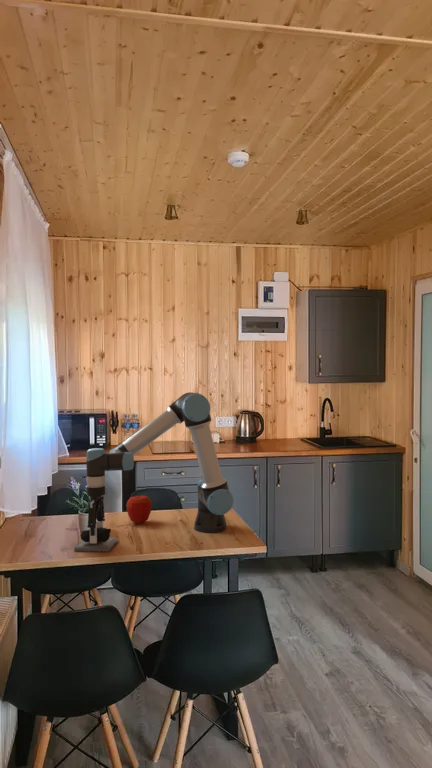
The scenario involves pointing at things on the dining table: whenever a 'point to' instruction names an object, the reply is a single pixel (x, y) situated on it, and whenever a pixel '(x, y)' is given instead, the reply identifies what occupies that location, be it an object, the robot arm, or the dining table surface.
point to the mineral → (102, 535)
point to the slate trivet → (96, 545)
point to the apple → (139, 509)
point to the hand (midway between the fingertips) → (96, 539)
